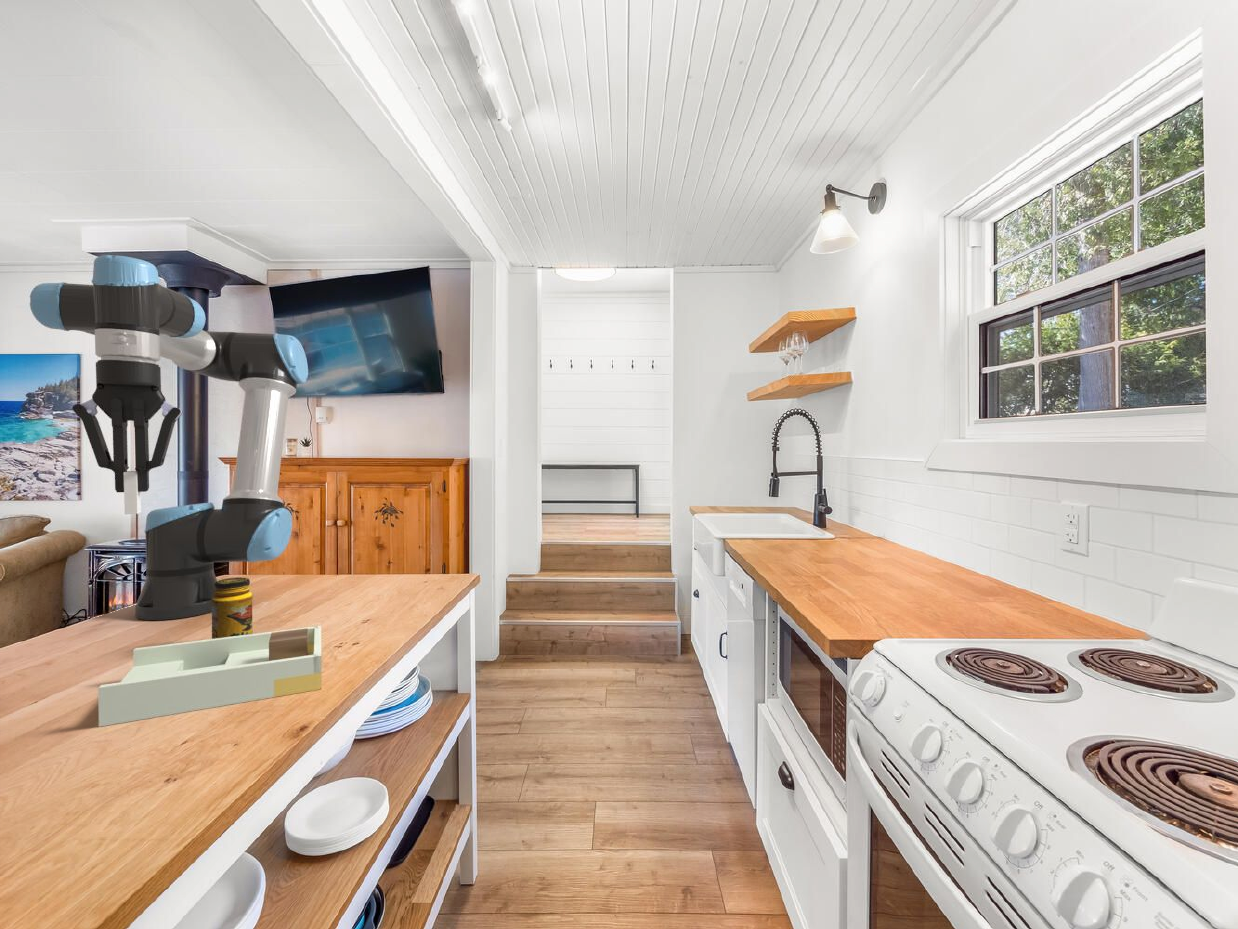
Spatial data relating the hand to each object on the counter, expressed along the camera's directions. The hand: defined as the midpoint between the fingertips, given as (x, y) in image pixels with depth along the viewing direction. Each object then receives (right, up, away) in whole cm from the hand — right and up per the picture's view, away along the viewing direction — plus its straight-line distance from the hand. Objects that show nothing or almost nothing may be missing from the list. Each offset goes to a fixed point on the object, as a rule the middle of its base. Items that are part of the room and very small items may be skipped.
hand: (133, 512), depth 87 cm
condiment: (+5, -26, +13) cm, 29 cm away
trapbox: (+17, -26, -3) cm, 31 cm away
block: (+24, -23, 0) cm, 34 cm away
